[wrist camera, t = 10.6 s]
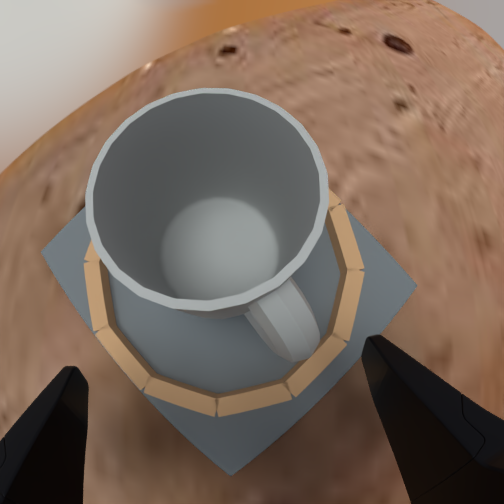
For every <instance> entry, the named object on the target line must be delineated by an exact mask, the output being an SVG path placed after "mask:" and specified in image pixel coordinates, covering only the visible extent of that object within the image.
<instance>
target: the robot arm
mask: <svg viewBox="0 0 504 504" xmlns="http://www.w3.org/2000/svg"><path fill="white" fill-rule="evenodd" d="M361 357H362V362H363V366H364V369H365V373H366V376H367V380H368V384H369V387H370V391H371V395H372V398H373V401H374V404H375V407H376V409H377V412H378V414H379V417H380V419H381V422H382V424H383V427H384V429H385V432H386V435H387V437H388V440H389V443H390V445H391V448H392V451H393V453H394V456H395V459H396V461H397V464H398V467H399V470H400V472H401V475H402V478H403V481H404V484H405V487H406V490H407V492H408V495H409V498H410V501H411V504H504V420H502V419H501V418H499V417H497V416H495V415H494V414H492V413H490V412H489V411H487V410H485V409H484V408H482V407H481V406H479V405H478V404H476V403H475V402H473V401H472V400H470V399H469V398H468V397H466V396H465V395H464V394H461V392H459V391H458V390H457V389H455V388H454V387H452V386H451V385H450V384H448V383H447V382H445V381H444V380H443V379H441V378H440V377H439V376H437V375H436V374H434V373H433V372H432V371H430V370H429V369H427V368H426V367H425V366H423V365H422V364H421V363H419V362H418V361H416V360H415V359H414V358H412V357H411V356H409V355H408V354H407V353H405V352H404V351H402V350H401V349H400V348H398V347H397V346H395V345H394V344H393V343H391V342H390V341H389V340H387V339H386V338H384V337H383V336H381V335H379V334H376V335H372V336H368V337H367V338H366V340H365V344H364V347H363V350H362V355H361ZM88 391H89V387H88V383H87V380H86V379H85V378H84V376H83V375H82V373H81V371H80V370H79V369H78V367H76V366H65V367H64V368H63V369H62V370H61V371H60V372H59V373H58V374H57V375H56V377H55V378H54V379H53V380H52V381H51V382H50V383H49V384H48V385H47V387H46V388H45V389H44V390H43V391H42V392H41V393H40V395H39V396H38V397H37V398H36V399H35V400H34V401H33V403H32V404H31V405H30V406H29V407H28V408H27V410H26V411H25V412H24V413H23V414H22V415H21V417H20V418H19V419H18V420H17V421H16V423H15V424H14V425H13V426H12V427H11V429H10V430H9V431H8V432H7V433H6V435H5V436H4V437H3V438H2V439H1V441H0V504H83V482H84V464H85V451H86V440H87V429H88Z"/></svg>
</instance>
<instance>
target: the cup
mask: <svg viewBox="0 0 504 504" xmlns="http://www.w3.org/2000/svg"><path fill="white" fill-rule="evenodd" d="M328 205H329V190H328V174H327V171H326V168H325V165H324V162H323V159H322V157H321V154H320V151H319V149H318V146H317V145H316V144H315V142H314V141H313V139H312V138H311V136H310V135H309V134H308V132H307V131H306V130H305V128H304V127H303V125H302V124H301V123H300V122H298V121H297V120H296V119H295V118H294V117H292V116H291V115H290V114H289V113H287V112H286V111H285V110H284V109H283V108H281V107H280V106H278V105H276V104H274V103H272V102H270V101H268V100H266V99H264V98H262V97H259V96H257V95H255V94H251V93H246V92H242V91H238V90H233V89H227V88H199V89H194V90H188V91H183V92H178V93H174V94H171V95H169V96H166V97H164V98H162V99H159V100H157V101H155V102H152V103H150V104H148V105H146V106H145V107H143V108H142V109H141V110H139V111H138V112H136V113H135V114H133V115H132V116H131V117H129V118H128V119H126V120H125V121H124V122H123V123H122V124H121V125H120V126H119V128H118V129H117V130H116V131H115V132H114V133H113V134H112V135H111V136H110V137H109V139H108V140H107V141H106V142H105V144H104V146H103V148H102V150H101V151H100V153H99V155H98V157H97V159H96V161H95V162H94V164H93V166H92V170H91V174H90V177H89V181H88V185H87V189H86V223H87V227H88V230H89V233H90V237H91V240H92V243H93V246H94V249H95V251H96V253H97V254H98V256H99V257H100V258H101V260H102V261H103V263H104V264H105V266H106V267H107V268H108V270H109V271H110V273H111V274H112V275H113V276H114V277H115V278H116V279H117V280H119V281H120V282H121V283H122V284H124V285H125V286H126V287H128V288H129V289H130V290H132V291H133V292H134V293H135V294H137V295H138V296H140V297H142V298H145V299H148V300H150V301H153V302H156V303H158V304H161V305H164V306H166V307H169V308H172V309H175V310H178V311H182V312H185V313H188V314H192V315H195V316H199V317H202V318H210V319H226V318H230V317H235V316H239V315H242V314H244V315H245V316H246V318H247V319H248V321H249V322H250V323H251V325H252V326H253V327H254V329H255V330H256V332H257V333H258V334H259V335H260V337H261V338H262V339H263V341H264V342H265V343H266V344H267V345H268V347H269V348H270V349H271V350H272V351H273V352H274V353H276V354H277V355H279V356H280V357H282V358H284V359H286V360H287V361H289V362H291V363H293V362H297V361H301V360H305V359H308V358H310V357H311V356H312V354H313V353H314V351H315V349H316V348H317V346H318V344H319V342H320V332H319V329H318V326H317V322H316V319H315V316H314V314H313V311H312V309H311V306H310V305H309V303H308V301H307V300H306V298H305V296H304V295H303V293H302V291H301V290H300V288H299V287H298V286H297V284H296V283H295V281H294V280H293V278H292V277H291V276H292V275H293V273H294V272H295V271H296V270H297V269H298V268H299V267H300V266H301V265H302V264H303V263H304V262H305V261H306V259H307V258H308V256H309V254H310V252H311V251H312V249H313V247H314V246H315V244H316V242H317V241H318V239H319V237H320V235H321V234H322V231H323V227H324V222H325V218H326V214H327V210H328Z"/></svg>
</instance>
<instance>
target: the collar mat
mask: <svg viewBox="0 0 504 504" xmlns="http://www.w3.org/2000/svg"><path fill="white" fill-rule="evenodd" d="M328 190H329V205H328V210H327V214H326V218H325V222H324V227H323V231H322V234H321V235H320V237H319V239H318V241H317V242H316V244H315V246H314V247H313V249H312V251H311V252H310V254H309V256H308V258H307V259H306V261H305V262H304V263H303V264H302V265H301V266H300V267H299V268H298V269H297V270H296V271H295V272H294V273H293V275H292V276H291V277H292V278H293V280H294V281H295V283H296V284H297V286H298V287H299V288H300V290H301V291H302V293H303V295H304V296H305V298H306V300H307V301H308V303H309V305H310V306H311V309H312V311H313V314H314V316H315V319H316V322H317V326H318V329H319V332H320V342H319V344H318V346H317V348H316V349H315V351H314V353H313V354H312V356H311V357H310V358H308V359H305V360H301V361H297V362H293V363H291V362H289V361H287V360H286V359H284V358H282V357H280V356H279V355H277V354H276V353H274V352H273V351H272V350H271V349H270V348H269V347H268V345H267V344H266V343H265V342H264V341H263V339H262V338H261V337H260V335H259V334H258V333H257V332H256V330H255V329H254V327H253V326H252V325H251V323H250V322H249V321H248V319H247V318H246V316H245V315H244V314H242V315H239V316H235V317H230V318H226V319H210V318H202V317H199V316H195V315H192V314H188V313H185V312H182V311H178V310H175V309H172V308H169V307H166V306H164V305H161V304H158V303H156V302H153V301H150V300H148V299H145V298H142V297H140V296H138V295H137V294H135V293H134V292H133V291H132V290H130V289H129V288H128V287H126V286H125V285H124V284H122V283H121V282H120V281H119V280H117V279H116V278H115V277H114V276H113V275H112V274H111V273H110V271H109V270H108V268H107V267H106V266H105V264H104V263H103V261H102V260H101V258H100V257H99V256H98V254H97V253H96V251H95V249H94V246H93V243H92V240H91V237H90V233H89V230H88V227H87V223H86V206H85V207H84V208H83V209H82V210H81V211H80V212H79V213H78V214H77V215H76V216H75V217H74V218H73V219H72V220H71V221H70V222H69V223H68V224H67V225H66V226H65V227H64V228H63V229H62V230H61V231H60V232H59V233H58V234H57V235H56V236H55V237H54V238H53V239H52V240H51V241H50V243H49V244H48V245H47V246H46V247H45V248H44V249H43V250H42V251H41V253H42V255H43V257H44V258H45V260H46V262H47V264H48V265H49V267H50V269H51V270H52V272H53V274H54V275H55V277H56V279H57V280H58V282H59V284H60V285H61V287H62V288H63V290H64V292H65V293H66V295H67V296H68V298H69V299H70V301H71V302H72V304H73V305H74V307H75V308H76V310H77V311H78V313H79V314H80V316H81V317H82V318H83V320H84V321H85V323H86V324H87V325H88V327H89V328H90V330H91V331H92V332H93V334H94V335H95V336H96V338H97V339H98V340H99V342H100V343H101V344H102V346H103V347H104V348H105V349H106V351H107V352H108V353H109V355H110V356H111V357H112V358H113V360H114V361H115V362H116V363H117V365H118V366H119V367H120V368H121V369H122V371H123V372H124V373H125V374H126V375H127V376H128V378H129V379H130V380H131V381H132V382H133V383H134V385H135V386H136V387H137V388H138V389H139V390H140V391H141V392H142V394H143V395H144V396H145V397H146V398H147V399H148V400H149V401H150V402H151V403H152V404H153V405H154V406H155V408H156V409H157V410H158V411H159V412H160V413H161V414H162V415H163V416H164V417H165V418H166V419H167V420H168V421H169V422H170V423H171V424H172V425H173V426H174V427H175V428H176V429H177V430H178V431H179V432H180V433H181V434H182V435H184V436H185V437H186V438H187V439H188V440H189V441H190V442H191V443H192V444H193V445H194V446H195V447H197V448H198V449H199V450H200V451H201V452H202V453H203V454H204V455H206V456H207V457H208V458H209V459H210V460H211V461H213V462H214V463H215V464H216V465H217V466H218V467H220V468H221V469H222V470H223V471H225V472H226V473H227V474H228V475H230V476H232V475H233V474H235V473H236V472H237V471H239V470H240V469H241V468H243V467H244V466H245V465H246V464H248V463H249V462H250V461H252V460H253V459H254V458H255V457H257V456H258V455H259V454H260V453H261V452H263V451H264V450H265V449H266V448H268V447H269V446H270V445H271V444H272V443H273V442H275V441H276V440H277V439H278V438H279V437H280V436H282V435H283V434H284V433H285V432H286V431H287V430H288V429H289V428H291V427H292V426H293V425H294V424H295V423H296V422H297V421H298V420H299V419H300V418H302V417H303V416H304V415H305V414H306V413H307V412H308V411H309V410H310V409H311V408H312V407H313V406H314V405H315V404H316V403H317V402H318V401H319V400H320V399H321V398H322V397H323V396H324V395H325V394H326V393H327V392H328V391H329V390H330V389H331V388H332V387H333V386H334V385H335V384H336V383H337V382H338V381H339V380H340V379H341V378H342V377H343V376H344V375H345V373H346V372H347V371H348V370H349V369H350V368H351V367H352V366H353V365H354V364H355V363H356V361H357V360H358V359H359V358H360V357H361V355H362V350H363V347H364V344H365V340H366V338H367V337H368V336H372V335H376V334H379V335H380V334H381V332H382V331H383V330H384V329H385V327H386V326H387V325H388V324H389V322H390V321H391V320H392V319H393V317H394V316H395V315H396V314H397V312H398V311H399V310H400V308H401V307H402V306H403V304H404V303H405V302H406V301H407V299H408V298H409V296H410V295H411V294H412V292H413V291H414V290H415V288H416V287H417V284H416V283H415V282H414V281H413V280H412V279H411V277H410V276H409V275H408V274H407V273H406V272H405V271H404V270H403V268H402V267H401V266H400V265H399V264H398V263H397V262H396V261H395V260H394V258H393V257H392V256H391V255H390V254H389V253H388V252H387V251H386V250H385V249H384V248H383V247H382V245H381V244H380V243H379V242H378V241H377V240H376V239H375V238H374V237H373V236H372V235H371V234H370V233H369V232H368V231H367V230H366V229H365V228H364V227H363V226H362V225H361V224H360V223H359V222H358V221H357V220H356V219H355V218H354V217H353V216H352V215H351V214H350V213H349V212H348V211H347V210H346V209H345V206H344V204H342V205H341V204H340V202H341V200H340V199H339V198H338V197H337V196H336V195H335V194H334V193H333V192H332V191H331V190H330V189H329V188H328Z"/></svg>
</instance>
